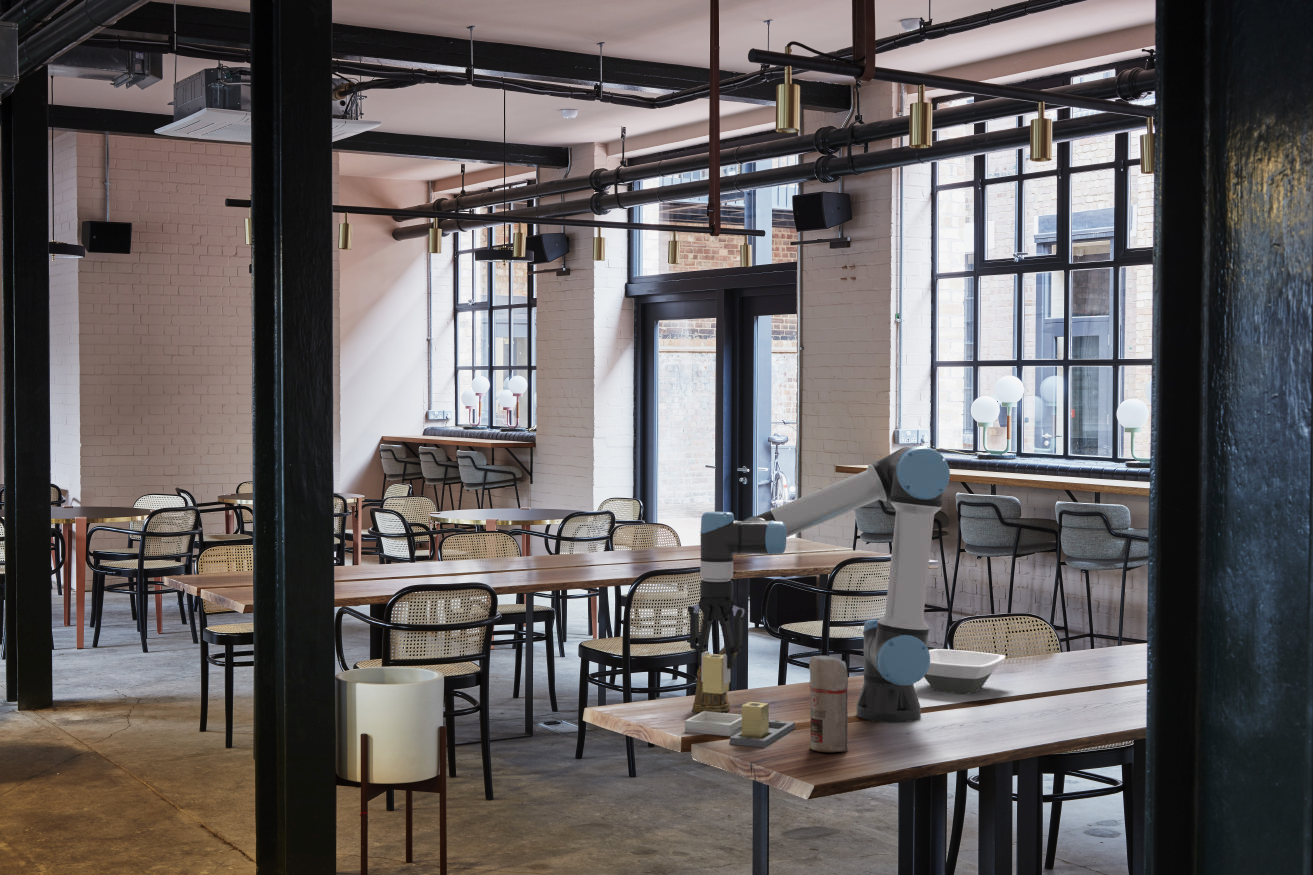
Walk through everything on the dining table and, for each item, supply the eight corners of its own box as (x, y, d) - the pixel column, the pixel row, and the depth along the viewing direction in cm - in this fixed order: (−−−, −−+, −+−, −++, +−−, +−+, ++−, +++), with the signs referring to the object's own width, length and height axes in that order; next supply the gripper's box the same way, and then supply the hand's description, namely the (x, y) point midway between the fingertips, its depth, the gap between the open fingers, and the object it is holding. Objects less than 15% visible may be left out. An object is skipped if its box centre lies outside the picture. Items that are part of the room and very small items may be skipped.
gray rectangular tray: (794, 728, 292) (794, 721, 292) (764, 747, 274) (764, 740, 274) (761, 724, 295) (761, 718, 295) (729, 743, 277) (729, 736, 277)
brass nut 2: (768, 739, 281) (768, 702, 281) (761, 744, 277) (761, 706, 277) (749, 737, 283) (749, 701, 283) (741, 742, 279) (741, 705, 279)
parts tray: (747, 726, 294) (747, 715, 294) (730, 736, 284) (730, 724, 284) (704, 721, 299) (703, 710, 299) (685, 731, 289) (685, 720, 289)
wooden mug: (719, 718, 302) (719, 642, 302) (685, 709, 313) (685, 635, 313) (748, 714, 307) (748, 639, 307) (713, 704, 318) (713, 632, 318)
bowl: (1011, 686, 342) (1011, 654, 342) (984, 701, 322) (984, 667, 322) (932, 677, 353) (932, 647, 353) (901, 691, 334) (901, 659, 334)
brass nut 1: (728, 690, 292) (729, 654, 292) (721, 693, 288) (721, 658, 288) (710, 688, 294) (710, 653, 294) (702, 691, 290) (702, 656, 290)
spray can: (805, 745, 276) (805, 652, 276) (842, 744, 276) (842, 652, 276) (813, 754, 267) (813, 659, 267) (852, 754, 268) (852, 658, 268)
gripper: (758, 579, 291) (757, 682, 291) (687, 575, 299) (687, 675, 299) (746, 583, 284) (746, 687, 284) (674, 578, 292) (673, 680, 292)
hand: (715, 681), depth 291 cm, fingers closed on brass nut 1, 5 cm apart
